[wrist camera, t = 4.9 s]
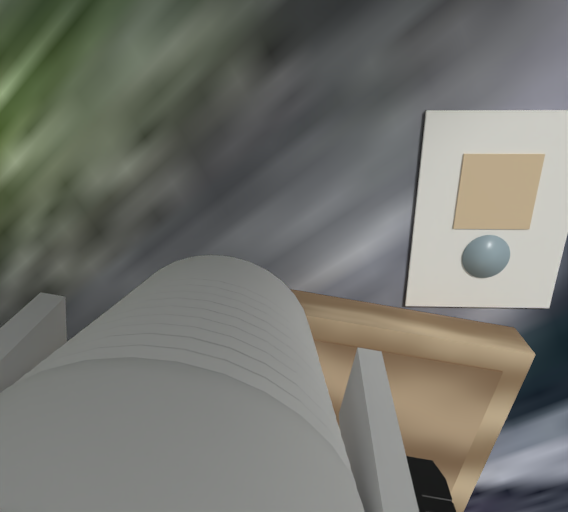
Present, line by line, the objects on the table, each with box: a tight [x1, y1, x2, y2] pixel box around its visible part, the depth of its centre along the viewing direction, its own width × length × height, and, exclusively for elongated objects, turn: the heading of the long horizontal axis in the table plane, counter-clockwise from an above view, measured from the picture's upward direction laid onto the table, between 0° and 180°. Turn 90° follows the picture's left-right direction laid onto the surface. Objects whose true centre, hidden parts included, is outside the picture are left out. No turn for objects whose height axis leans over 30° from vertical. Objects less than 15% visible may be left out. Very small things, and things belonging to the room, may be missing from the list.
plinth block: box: [290, 289, 536, 512], centre depth 31 cm, size 16×16×3 cm
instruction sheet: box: [405, 110, 568, 308], centre depth 27 cm, size 12×9×1 cm
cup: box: [0, 255, 365, 512], centre depth 11 cm, size 10×10×11 cm
